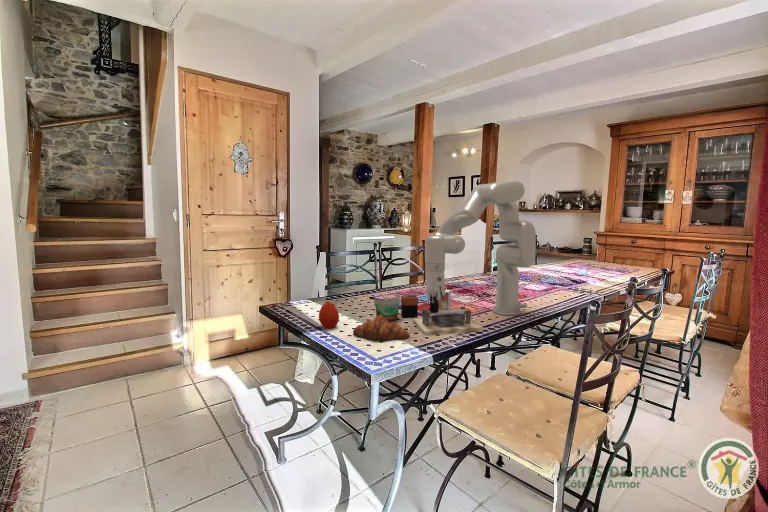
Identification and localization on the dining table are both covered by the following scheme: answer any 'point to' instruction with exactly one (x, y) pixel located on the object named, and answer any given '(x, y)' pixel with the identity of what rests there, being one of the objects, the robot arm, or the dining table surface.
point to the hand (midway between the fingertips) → (434, 312)
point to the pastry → (381, 330)
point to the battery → (409, 306)
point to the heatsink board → (446, 323)
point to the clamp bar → (448, 312)
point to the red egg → (328, 316)
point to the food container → (388, 308)
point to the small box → (445, 301)
